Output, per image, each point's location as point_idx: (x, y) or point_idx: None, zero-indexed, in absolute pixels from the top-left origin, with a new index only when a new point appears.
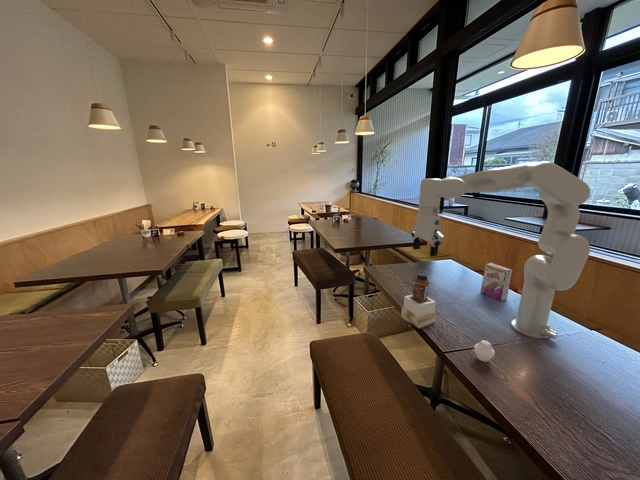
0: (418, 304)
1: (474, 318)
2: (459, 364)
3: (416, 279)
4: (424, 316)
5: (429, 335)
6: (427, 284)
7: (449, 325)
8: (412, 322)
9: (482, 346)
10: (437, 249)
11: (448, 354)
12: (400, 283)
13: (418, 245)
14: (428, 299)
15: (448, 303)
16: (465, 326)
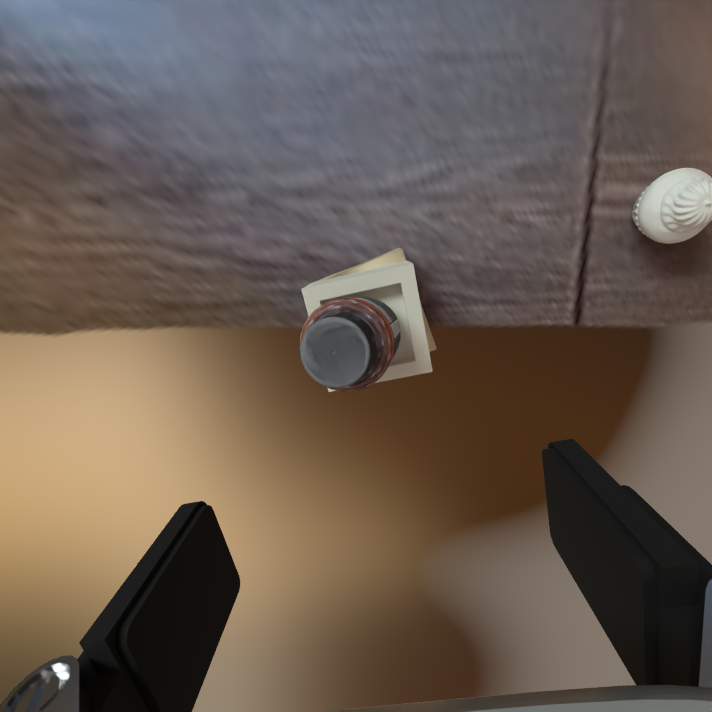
0: (421, 366)
1: (407, 26)
2: (641, 311)
3: (341, 387)
4: (427, 323)
5: (479, 322)
6: (389, 326)
7: (436, 200)
8: None
9: (700, 224)
10: (682, 541)
11: (589, 316)
12: (15, 223)
13: (192, 571)
14: (378, 287)
15: (251, 71)
16: (458, 129)
